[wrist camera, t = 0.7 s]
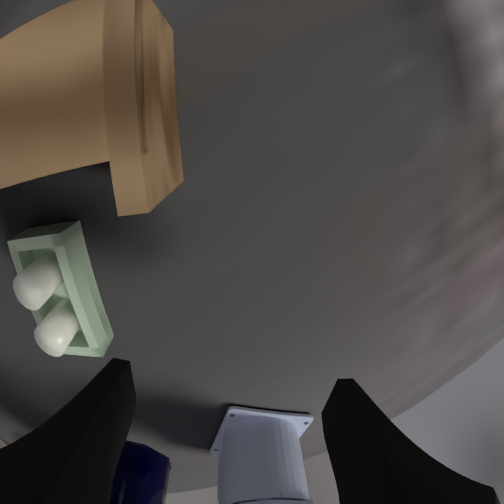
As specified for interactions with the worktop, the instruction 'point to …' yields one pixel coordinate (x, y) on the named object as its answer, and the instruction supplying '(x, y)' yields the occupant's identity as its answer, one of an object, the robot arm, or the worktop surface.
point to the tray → (60, 290)
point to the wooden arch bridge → (93, 99)
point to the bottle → (140, 476)
